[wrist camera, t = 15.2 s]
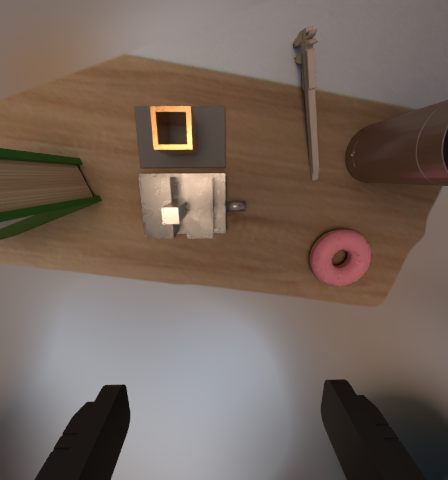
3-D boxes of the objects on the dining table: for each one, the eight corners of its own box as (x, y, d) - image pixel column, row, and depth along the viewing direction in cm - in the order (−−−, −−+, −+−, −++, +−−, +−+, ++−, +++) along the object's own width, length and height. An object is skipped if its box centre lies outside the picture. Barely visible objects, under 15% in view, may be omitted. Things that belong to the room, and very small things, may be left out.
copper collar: (196, 121, 36) (190, 106, 28) (197, 154, 37) (192, 149, 29) (164, 121, 36) (150, 106, 28) (167, 155, 37) (153, 149, 29)
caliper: (291, 45, 34) (307, 17, 28) (298, 43, 34) (315, 14, 28) (311, 180, 40) (327, 181, 33) (317, 179, 39) (335, 180, 33)
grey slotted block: (242, 173, 39) (254, 172, 26) (241, 230, 41) (251, 253, 29) (142, 173, 38) (105, 172, 26) (148, 231, 41) (117, 255, 28)
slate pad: (224, 107, 36) (224, 106, 35) (224, 167, 38) (225, 167, 38) (135, 107, 35) (134, 106, 35) (141, 167, 38) (140, 167, 37)
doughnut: (313, 223, 42) (323, 228, 38) (370, 230, 42) (386, 235, 38) (300, 277, 44) (308, 287, 40) (354, 282, 45) (367, 293, 41)
